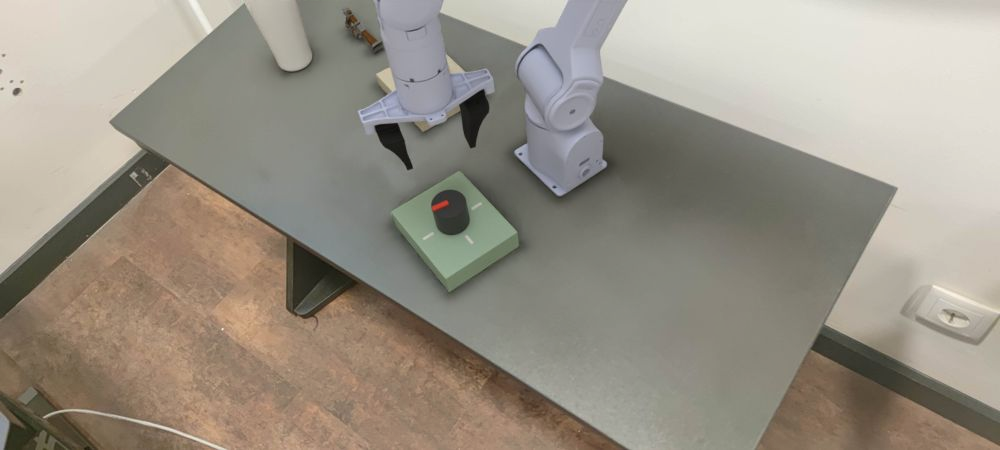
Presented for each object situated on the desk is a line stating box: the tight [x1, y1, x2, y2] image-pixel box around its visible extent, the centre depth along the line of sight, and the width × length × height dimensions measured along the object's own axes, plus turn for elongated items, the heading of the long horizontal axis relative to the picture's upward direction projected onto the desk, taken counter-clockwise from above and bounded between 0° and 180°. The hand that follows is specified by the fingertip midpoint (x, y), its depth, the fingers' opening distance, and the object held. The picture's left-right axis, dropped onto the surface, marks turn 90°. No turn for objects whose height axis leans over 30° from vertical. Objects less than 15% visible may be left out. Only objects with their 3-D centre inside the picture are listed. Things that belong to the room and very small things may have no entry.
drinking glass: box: [243, 0, 313, 72], centre depth 99 cm, size 7×7×15 cm
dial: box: [431, 190, 470, 235], centre depth 80 cm, size 4×4×4 cm
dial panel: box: [390, 170, 520, 293], centre depth 83 cm, size 12×10×3 cm
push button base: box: [375, 53, 466, 133], centre depth 97 cm, size 12×10×4 cm
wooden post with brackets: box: [341, 6, 383, 54], centre depth 106 cm, size 2×8×4 cm, turn 44°
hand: (439, 152), depth 81 cm, fingers open, 7 cm apart
